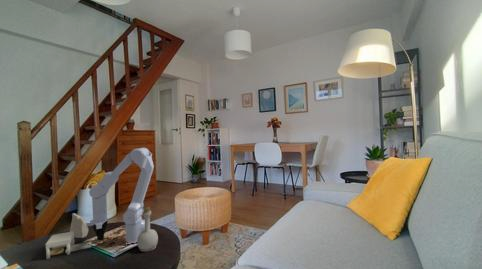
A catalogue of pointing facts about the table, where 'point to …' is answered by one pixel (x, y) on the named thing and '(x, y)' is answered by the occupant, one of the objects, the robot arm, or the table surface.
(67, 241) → the white toy table
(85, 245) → the blade tool
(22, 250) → the table surface
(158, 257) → the table surface
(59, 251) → the token
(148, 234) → the potion bottle
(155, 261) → the table surface
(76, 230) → the stone
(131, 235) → the robot arm
